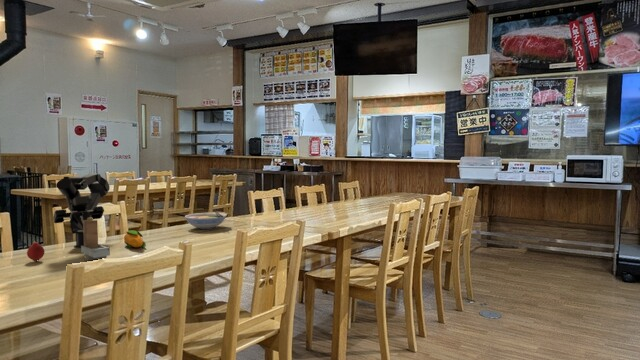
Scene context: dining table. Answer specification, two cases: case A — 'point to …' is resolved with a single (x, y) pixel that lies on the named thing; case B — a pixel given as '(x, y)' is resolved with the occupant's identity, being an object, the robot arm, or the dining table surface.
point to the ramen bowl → (205, 220)
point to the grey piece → (95, 252)
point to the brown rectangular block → (90, 233)
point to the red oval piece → (35, 251)
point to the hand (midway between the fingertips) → (84, 229)
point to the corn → (134, 239)
